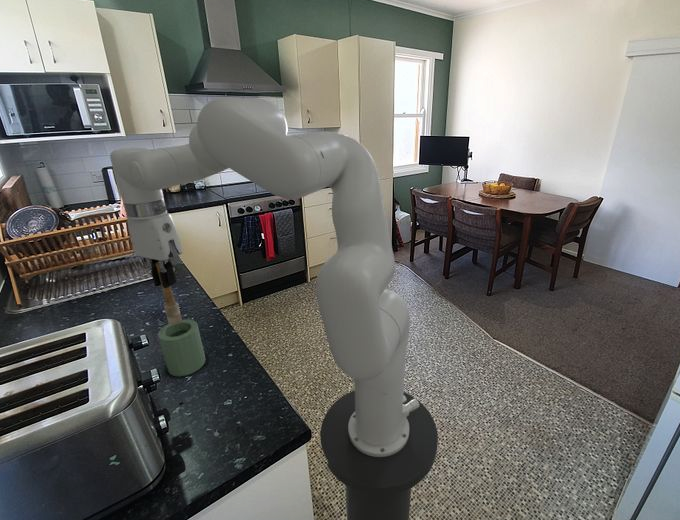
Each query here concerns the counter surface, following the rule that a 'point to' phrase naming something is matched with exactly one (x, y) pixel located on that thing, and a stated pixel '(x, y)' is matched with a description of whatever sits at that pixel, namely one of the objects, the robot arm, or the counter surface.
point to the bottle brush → (170, 303)
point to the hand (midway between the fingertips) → (165, 284)
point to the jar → (182, 347)
